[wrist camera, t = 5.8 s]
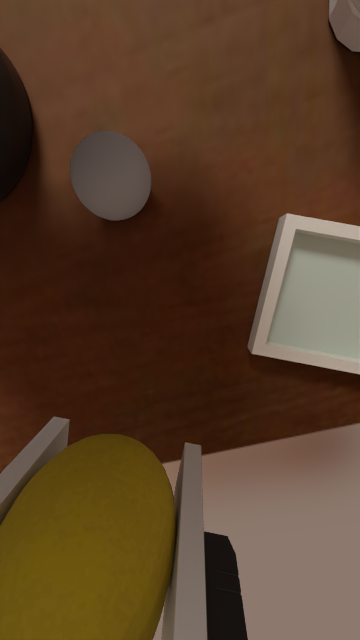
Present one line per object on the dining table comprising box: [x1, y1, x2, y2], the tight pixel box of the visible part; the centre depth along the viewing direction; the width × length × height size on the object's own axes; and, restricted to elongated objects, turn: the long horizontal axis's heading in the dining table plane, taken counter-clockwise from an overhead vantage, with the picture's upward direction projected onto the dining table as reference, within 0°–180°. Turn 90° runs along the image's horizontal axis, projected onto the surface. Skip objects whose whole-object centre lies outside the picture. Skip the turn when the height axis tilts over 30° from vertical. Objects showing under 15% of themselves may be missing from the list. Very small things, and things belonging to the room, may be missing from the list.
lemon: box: [0, 434, 176, 640], centre depth 8 cm, size 6×6×8 cm
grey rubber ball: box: [70, 131, 151, 220], centre depth 20 cm, size 6×6×6 cm
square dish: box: [247, 214, 360, 374], centre depth 22 cm, size 12×12×2 cm
